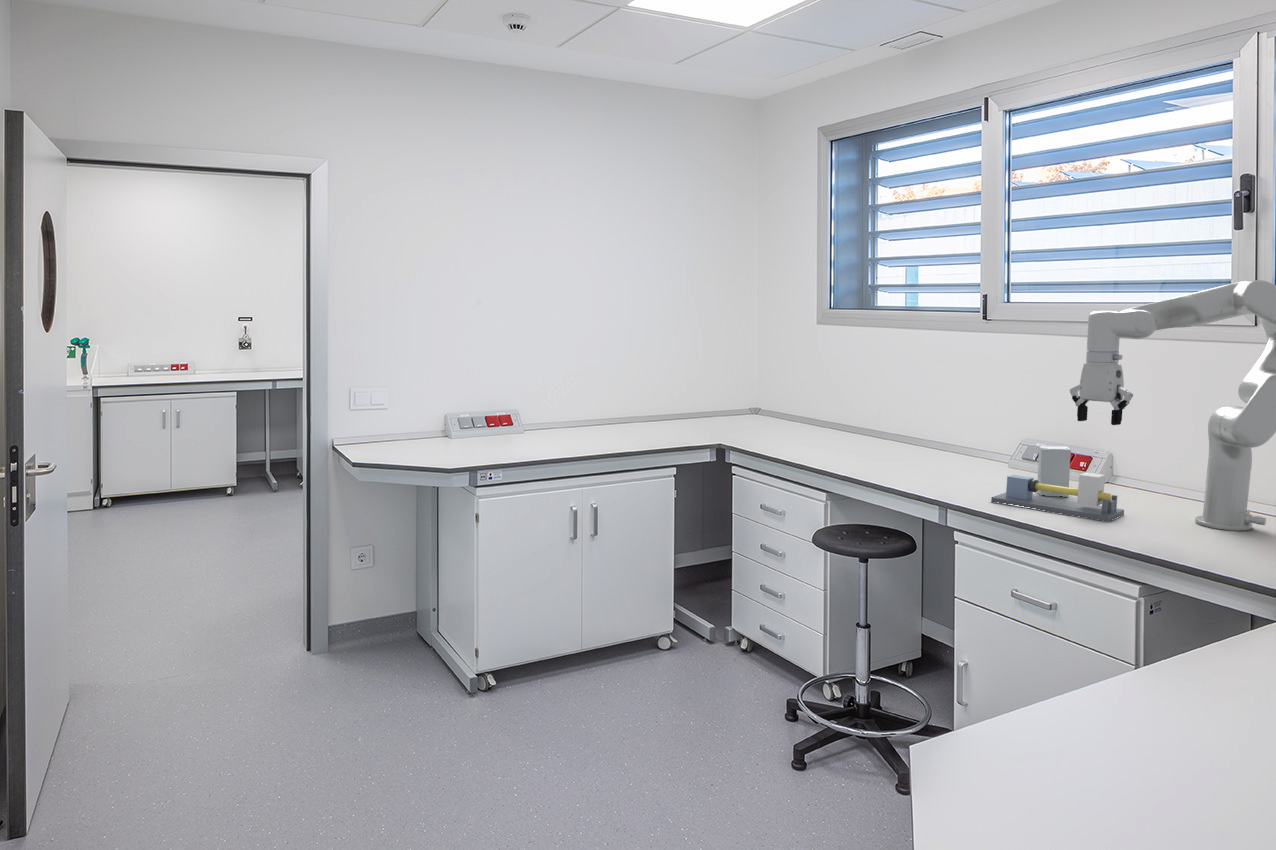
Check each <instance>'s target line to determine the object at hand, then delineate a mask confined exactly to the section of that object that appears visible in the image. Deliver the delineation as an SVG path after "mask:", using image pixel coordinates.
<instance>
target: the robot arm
mask: <svg viewBox="0 0 1276 850" xmlns="http://www.w3.org/2000/svg"><path fill="white" fill-rule="evenodd" d="M1244 315H1255V316H1257V317H1258V318H1260V319H1261V324H1262V327H1263V330H1264V332H1265V335H1266V345H1265V348H1264V350H1263V352H1262V354H1261V355H1260V356H1259V358H1258V360H1257V361H1256V362H1255V363H1254V364H1253V366H1252V367H1251V369H1250V370H1249V371H1248V373H1247V374H1246V375H1245V376H1244V378H1243V379H1242V381H1241V383H1240V384H1239V386H1238V388H1237V389H1238V391H1237V393H1238V397H1239V399H1240V400H1241V401H1242V402H1243V403H1245V406H1244V407H1243V406H1239V405H1225V406H1222V407H1220V408H1218V409H1216V410H1214V411H1213V412H1212V414H1211V416H1210V417H1209V420H1208V423H1207V436H1208V460H1207V468H1206V469H1207V470H1206V476H1205V477H1206V479H1205V488H1204V489H1205V490H1204V497H1203V498H1204V499H1203V510H1202V515H1198V516H1196V517H1195V520H1194V522H1195V524H1196V523H1197V524H1198V525H1201V526H1204V527H1207V528H1212V529H1217V530H1225V531H1240V532H1243V531H1250V530H1252V529H1253V524H1256V525H1261V526H1266V524H1267V518H1266V517H1263V516H1259V515H1253V514H1251V510H1250V509H1248V502H1249V492H1250V484H1251V483H1250V482H1251V474H1252V473H1251V472H1252V466H1253V465H1252V464H1253V463H1252V462H1253V452H1252V451H1253V450H1252V448H1253V449H1254V448H1258V447H1261V446H1263V445H1265V444H1266V443H1267V442H1268V441H1270V439H1271V438H1272V437H1273V436H1274V435H1275V434H1276V284H1274V283H1272V282H1269V281H1267V280H1262V279H1257V280H1256V279H1255V280H1254V279H1253V280H1241V281H1237V282H1233V283H1227V284H1224V285H1220V286H1217V287H1212V288H1209V289H1204V290H1200V291H1196V292H1192V293H1188V294H1182V295H1179V296H1176V297H1172V298H1168V299H1163V300H1159V301H1156V302H1152V303H1147V304H1143V305H1138V306H1134V307H1131V308H1127V309H1124V310H1121V311H1119V312H1118V311H1116V310H1115V311H1113V310H1099V311H1096V310H1095V311H1091V312H1090V314H1089V315H1088V321H1087V337H1086V338H1087V340H1086V356H1085V359H1086V360H1085V362H1084V363H1083V366H1082V369H1081V375H1080V380H1079V384H1077V385H1076V386H1074V387H1072V388H1070V389H1069V393H1070V396H1071V399H1072V401H1073V402H1074V403H1075V406H1076V407H1077V413H1076V417H1077V422H1087V420H1088V409H1089V408H1088V405H1087V404H1088V403H1089V402H1090V401H1092V402H1102V403H1103V402H1104V403H1109V404H1110V405H1111V406H1112V408H1113V409H1112V410H1111V416H1110V417H1111V419H1110V420H1111V421H1110V424H1111V426H1119V425H1121V424H1122V420H1123V410H1125V409H1126V407H1127V406H1128V405H1129V404H1130V401H1131V400H1132V399H1133V397H1134V393H1132V392H1131V391H1130V390H1128V389H1126V388H1125V387H1124V385H1125V382H1124V381H1125V380H1124V379H1125V378H1124V372H1123V371H1124V370H1123V365H1122V364H1121V363H1119V360H1120V361H1121V360H1123V355H1122V354H1120V351H1119V350H1120V338H1121V339H1122V338H1123V339H1130V340H1131V339H1132V340H1143V339H1146V338H1149V337H1150V336H1152V335H1153V334H1154V333H1155V331H1156V332H1157V331H1161V330H1166V329H1174V328H1175V329H1176V328H1177V329H1178V328H1179V329H1180V328H1192V327H1198V326H1199V327H1200V326H1202V325H1206V324H1211V323H1214V322H1219V321H1223V320H1226V319H1232V318H1235V317H1240V316H1244Z"/></svg>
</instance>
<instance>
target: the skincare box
mask: <svg viewBox="0 0 1276 850" xmlns="http://www.w3.org/2000/svg"><path fill="white" fill-rule="evenodd" d="M1071 454H1072V449H1070V448H1069V447H1068V446H1067V445H1063V446H1062V445H1060V446H1057V445H1054V446H1053V445H1039V446H1038V456H1037V457H1038V458H1037V459H1038V461H1037V462H1038V463H1037V480H1038V481H1039V483H1041V484H1048V485H1055V486H1061V487H1068V488H1070V473H1071V471H1070V470H1071V456H1072V455H1071ZM1036 493H1037V494H1038V493H1039V494H1040V495H1045V496H1044V497H1060V496H1062V498H1064V497H1065V498H1069V495H1067V494H1060V493H1054V492H1047V491H1041V490H1038V491H1037V492H1036ZM1039 494H1038V495H1039ZM1040 495H1039V496H1040Z"/></svg>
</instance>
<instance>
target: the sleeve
mask: <svg viewBox="0 0 1276 850" xmlns="http://www.w3.org/2000/svg"><path fill="white" fill-rule="evenodd" d="M1105 477H1106V474H1100V473H1094V472H1092V473H1091V472H1084V473H1081V474H1078V487H1077V489H1078V496H1076V497H1077V498H1076V502H1077V503H1079V504H1086V505H1092V506H1101V505H1102V500H1100V499H1098V494H1099V492H1102V493H1105V492H1104V491H1105V482H1106V481H1105V480H1106V479H1105Z"/></svg>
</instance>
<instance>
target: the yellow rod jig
mask: <svg viewBox="0 0 1276 850" xmlns="http://www.w3.org/2000/svg"><path fill="white" fill-rule="evenodd" d="M1034 478H1035V477H1030V476H1024V475H1016V474H1010V475H1008V476H1006V490H1005V492H1002V493H1000V494H997V495H994V496H991V499H990V500H991V501H990V502H991V503H993V502H999V503H1006V504H1013V505H1019V506H1024V507H1030V508H1036V509H1040V510H1045V511H1044V512H1046V511H1049V512H1048V513H1052V512H1055V513H1054V514H1058V513H1062V514H1061V515H1064V514H1067V515H1066V516H1070V515H1074V516H1073V517H1076V516H1080V517H1079V518H1082V517H1087V518H1086V519H1088V518H1093V519H1092V520H1094V519H1099V520H1098V521H1100V520H1104V521H1103V522H1106V521H1110V520H1112V519H1114V520H1116V519H1118V518H1120V517H1122V516H1121V515H1123V516H1124V515H1125V509H1122V508H1118V505H1117V504H1118V495H1115V494H1111V493H1109V492H1104V493H1102V492H1099V494H1098V499H1100V500H1102V504H1101V505H1098V506H1092V505H1086V504H1079V503H1077V501H1071V500H1066V499H1059V498H1052V497H1048V496H1040V495H1034V494H1033V493H1038V492H1037V491H1038V490H1041V491H1047V492H1054V493H1060V494H1067V495H1068V496H1074V497H1078V488H1074V487H1069V488H1068V487H1061V486H1055V485H1048V484H1041V483H1039V481H1038V479H1034ZM999 503H998V504H999ZM1040 510H1039V511H1040ZM1119 516H1120V517H1119ZM1117 517H1118V518H1117ZM1115 518H1116V519H1115ZM1112 521H1113V520H1112ZM1110 522H1111V521H1110Z"/></svg>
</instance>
